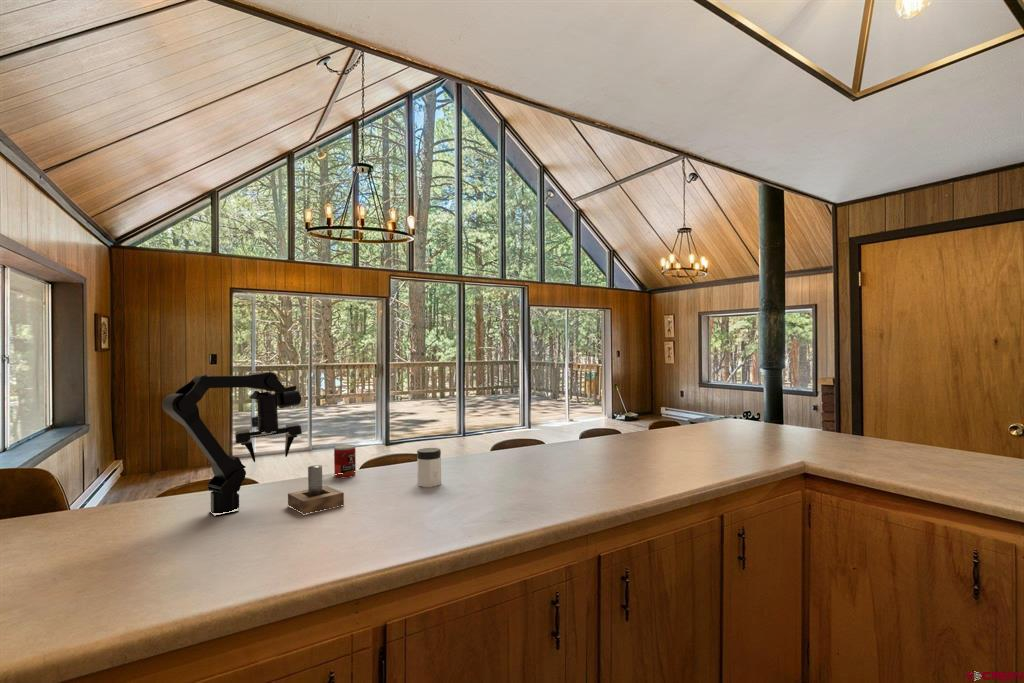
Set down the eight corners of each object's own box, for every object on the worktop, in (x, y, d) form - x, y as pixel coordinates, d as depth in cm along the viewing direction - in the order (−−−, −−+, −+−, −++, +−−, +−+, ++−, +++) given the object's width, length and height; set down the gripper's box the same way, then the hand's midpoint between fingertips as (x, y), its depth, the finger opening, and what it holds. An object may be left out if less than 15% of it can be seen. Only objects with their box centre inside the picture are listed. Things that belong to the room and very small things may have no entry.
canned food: (342, 479, 183) (342, 449, 184) (330, 476, 188) (329, 446, 188) (360, 474, 189) (359, 445, 190) (347, 472, 194) (347, 443, 194)
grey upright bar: (311, 509, 148) (311, 468, 148) (306, 506, 151) (305, 466, 151) (325, 506, 151) (324, 466, 151) (319, 503, 153) (318, 464, 154)
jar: (425, 489, 168) (424, 453, 168) (412, 484, 173) (411, 450, 174) (446, 483, 174) (446, 449, 174) (433, 479, 180) (432, 446, 180)
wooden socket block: (303, 515, 142) (303, 501, 142) (288, 506, 151) (287, 493, 151) (343, 505, 150) (343, 492, 151) (326, 498, 159) (326, 485, 159)
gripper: (295, 403, 170) (297, 448, 171) (232, 410, 160) (236, 458, 161) (300, 408, 161) (303, 456, 162) (234, 416, 151) (237, 467, 152)
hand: (270, 459), depth 159 cm, fingers open, 9 cm apart
